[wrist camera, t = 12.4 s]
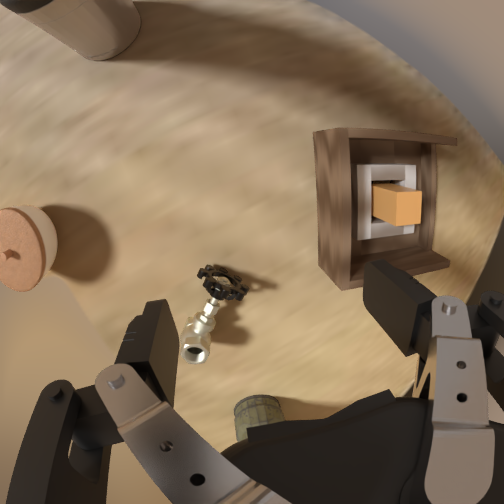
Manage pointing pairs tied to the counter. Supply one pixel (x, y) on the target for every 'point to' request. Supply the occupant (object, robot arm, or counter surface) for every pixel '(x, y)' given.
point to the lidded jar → (25, 246)
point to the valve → (208, 313)
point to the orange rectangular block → (396, 204)
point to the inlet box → (359, 201)
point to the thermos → (256, 413)
